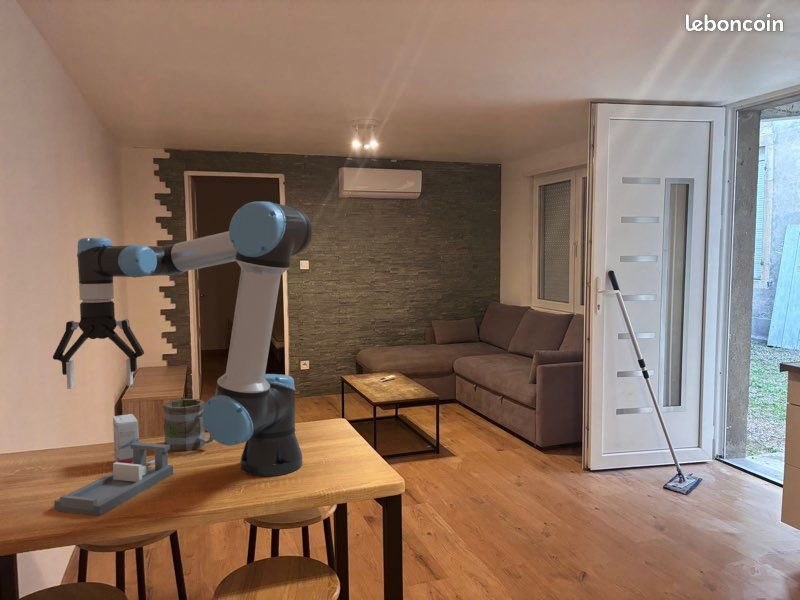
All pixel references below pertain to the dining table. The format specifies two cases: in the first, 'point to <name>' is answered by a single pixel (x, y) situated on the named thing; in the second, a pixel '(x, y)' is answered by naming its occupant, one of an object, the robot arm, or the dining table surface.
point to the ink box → (124, 437)
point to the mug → (184, 425)
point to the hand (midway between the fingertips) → (100, 386)
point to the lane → (117, 484)
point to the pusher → (130, 471)
